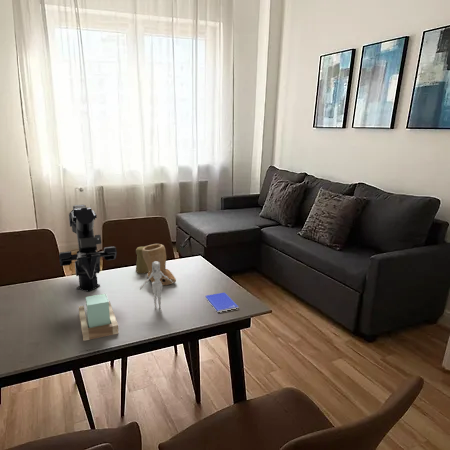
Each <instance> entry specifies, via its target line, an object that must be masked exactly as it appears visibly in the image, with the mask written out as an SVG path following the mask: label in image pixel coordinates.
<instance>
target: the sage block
mask: <svg viewBox="0 0 450 450" xmlns="http://www.w3.org/2000/svg"><path fill="white" fill-rule="evenodd" d="M109 301H110V300H109V298H108V295H107V293H103V294H95V295H89V296H85V303H86V304H85V305H86V320H87V326H88V328H92V327H97V326H102V325H107V324H110V313H109Z"/></svg>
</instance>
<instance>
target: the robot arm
mask: <svg viewBox="0 0 450 450" xmlns="http://www.w3.org/2000/svg"><path fill="white" fill-rule="evenodd" d="M97 217H98V216H97V213H96V212H95V211H94V209H92V207H90V206H89V207H87V206H86V205H85V204H74V205H72V210H71V211H70V212H69V213H68V222H69V227H70V228H71V231H72V232H73V234H75V235H76V239H77V246H78V250H77V251H76V253H75V254H72V250H69V251H59V252H60V253H59V254H58V260H59V266H60V267H65V266H71V265H72V264H73V261H74V270H75V276H76V277H78V284H79V285H78V286H76V290H80V291H83V292H90V291H93V290H95V289H97V288H99V287H101V284H100V283H98V276H97V274H99V273H100V272H101V258H102V257H103V258H104V260H105V261H112V260H116V258H117V253H118V251H117V247H116V246H106V247H103V250H102V251H101V250H100V251H98V247H97V246H98V245H101V244H102V237H101V234H95V233H94V232H95V231H94V227H95V221H96V219H97Z"/></svg>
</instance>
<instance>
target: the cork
mask: <svg viewBox="0 0 450 450" xmlns="http://www.w3.org/2000/svg"><path fill="white" fill-rule="evenodd" d="M144 247H145V246H138V247H136V249H135V254H136V255H137V256H136V263H135V264H136V265H135V273H137V274H148V272H149V269H148V266H147V264H146V262H145V260H144V258H143V253H142V249H143V248H144Z"/></svg>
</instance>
